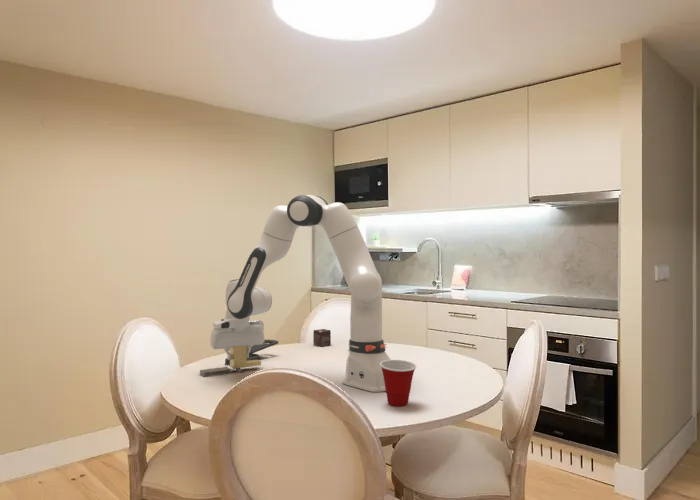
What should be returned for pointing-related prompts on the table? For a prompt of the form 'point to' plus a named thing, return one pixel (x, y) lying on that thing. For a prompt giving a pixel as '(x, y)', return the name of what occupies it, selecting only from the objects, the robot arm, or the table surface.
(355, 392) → the table surface
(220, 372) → the fixed leaf
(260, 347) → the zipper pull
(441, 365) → the table surface
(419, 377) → the table surface
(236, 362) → the tan l-shaped bracket
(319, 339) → the box
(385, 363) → the plastic cup
